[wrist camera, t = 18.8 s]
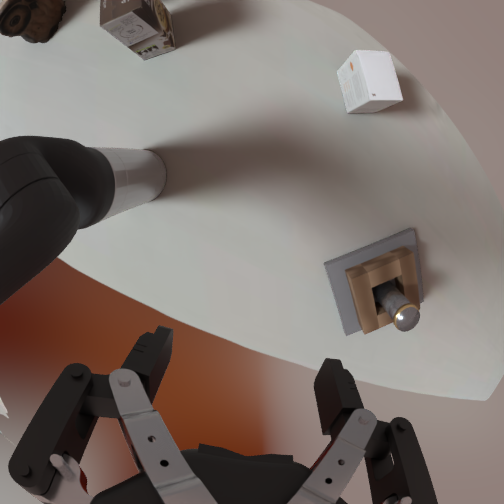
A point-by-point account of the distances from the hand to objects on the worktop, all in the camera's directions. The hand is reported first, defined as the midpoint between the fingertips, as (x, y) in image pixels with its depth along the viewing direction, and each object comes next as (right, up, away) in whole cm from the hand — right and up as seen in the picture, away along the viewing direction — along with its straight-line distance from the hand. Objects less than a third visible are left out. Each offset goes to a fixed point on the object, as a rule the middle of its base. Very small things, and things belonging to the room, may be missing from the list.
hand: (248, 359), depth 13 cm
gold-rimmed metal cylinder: (+24, -1, +33) cm, 41 cm away
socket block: (+24, -1, +33) cm, 41 cm away
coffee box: (-17, +44, +21) cm, 51 cm away
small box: (+18, +32, +24) cm, 44 cm away
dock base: (+24, 0, +34) cm, 42 cm away
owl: (-48, +60, +17) cm, 79 cm away
